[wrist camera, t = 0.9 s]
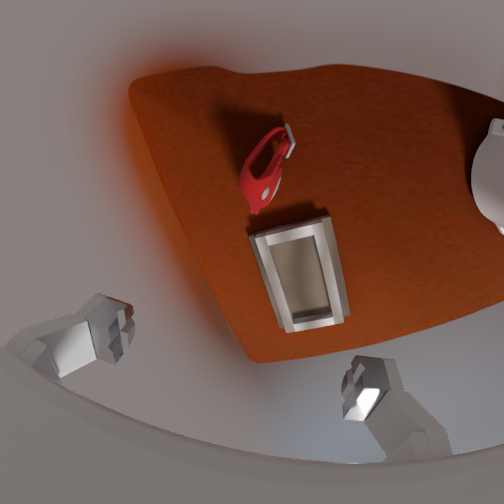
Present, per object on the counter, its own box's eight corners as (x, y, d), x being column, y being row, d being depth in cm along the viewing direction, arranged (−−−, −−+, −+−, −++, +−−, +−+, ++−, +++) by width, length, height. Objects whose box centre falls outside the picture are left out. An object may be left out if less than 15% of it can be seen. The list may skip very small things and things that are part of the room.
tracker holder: (269, 208, 41) (258, 233, 32) (240, 196, 41) (221, 217, 32) (302, 130, 36) (302, 130, 27) (271, 117, 36) (261, 114, 27)
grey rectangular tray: (329, 214, 40) (331, 220, 38) (349, 311, 46) (351, 320, 44) (249, 233, 43) (246, 240, 41) (280, 324, 49) (279, 334, 47)
